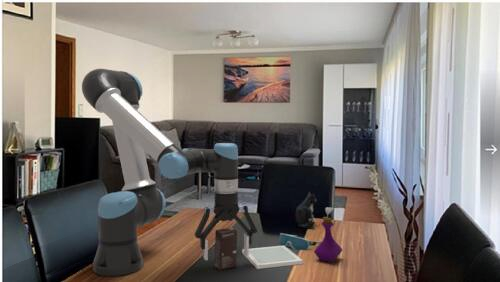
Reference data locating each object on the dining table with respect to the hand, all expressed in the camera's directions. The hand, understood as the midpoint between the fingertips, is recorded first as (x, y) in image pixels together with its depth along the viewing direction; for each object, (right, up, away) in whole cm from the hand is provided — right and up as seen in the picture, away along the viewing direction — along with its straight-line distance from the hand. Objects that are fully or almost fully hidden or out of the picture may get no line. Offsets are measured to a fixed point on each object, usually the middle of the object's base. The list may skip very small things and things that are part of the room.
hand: (226, 256), depth 135 cm
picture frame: (+15, -3, +8) cm, 17 cm away
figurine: (+33, -1, +48) cm, 58 cm away
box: (0, -4, 0) cm, 4 cm away
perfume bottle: (+34, -3, +7) cm, 35 cm away
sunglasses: (+27, -2, +25) cm, 37 cm away
